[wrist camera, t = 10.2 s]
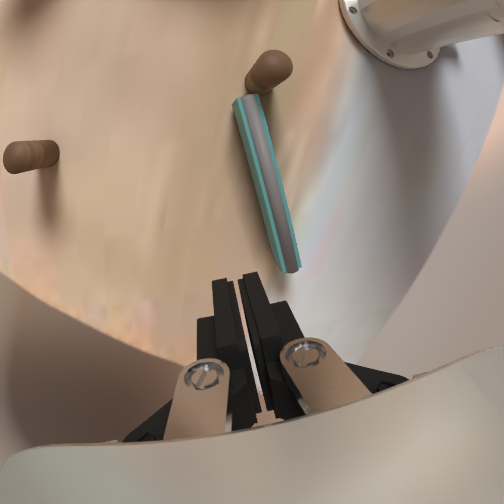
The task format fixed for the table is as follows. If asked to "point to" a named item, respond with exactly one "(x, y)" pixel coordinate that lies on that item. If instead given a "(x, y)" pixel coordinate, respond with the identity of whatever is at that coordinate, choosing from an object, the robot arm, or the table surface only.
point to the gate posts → (47, 151)
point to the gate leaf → (267, 181)
